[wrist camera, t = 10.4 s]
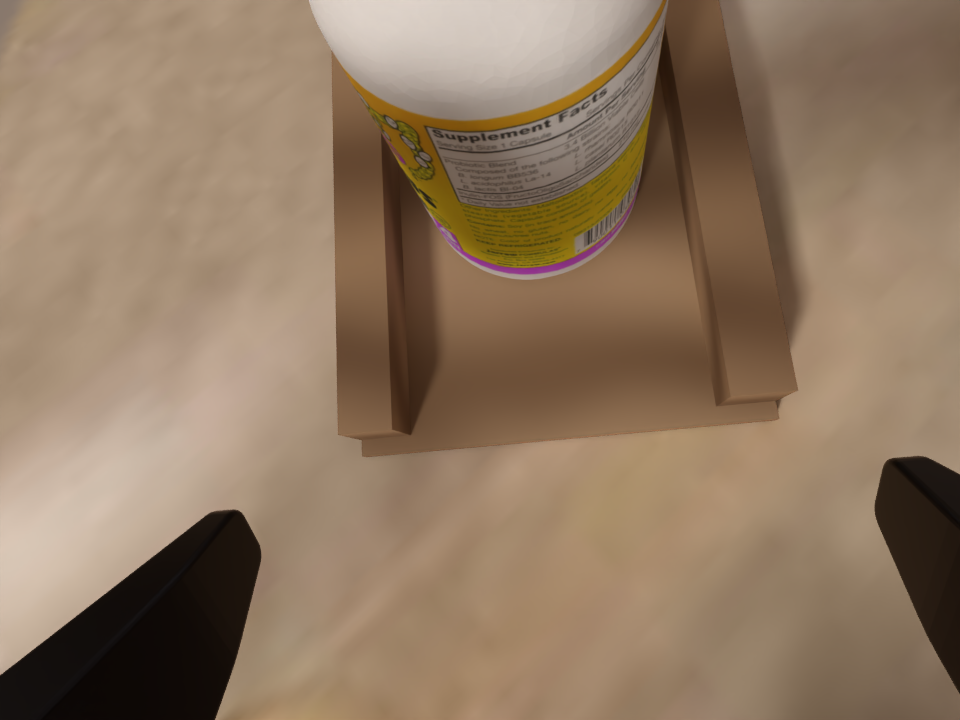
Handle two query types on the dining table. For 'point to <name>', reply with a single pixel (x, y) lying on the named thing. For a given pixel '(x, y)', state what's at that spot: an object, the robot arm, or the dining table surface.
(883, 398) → the dining table surface
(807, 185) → the dining table surface
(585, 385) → the brown wooden frame
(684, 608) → the dining table surface
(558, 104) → the supplement bottle
